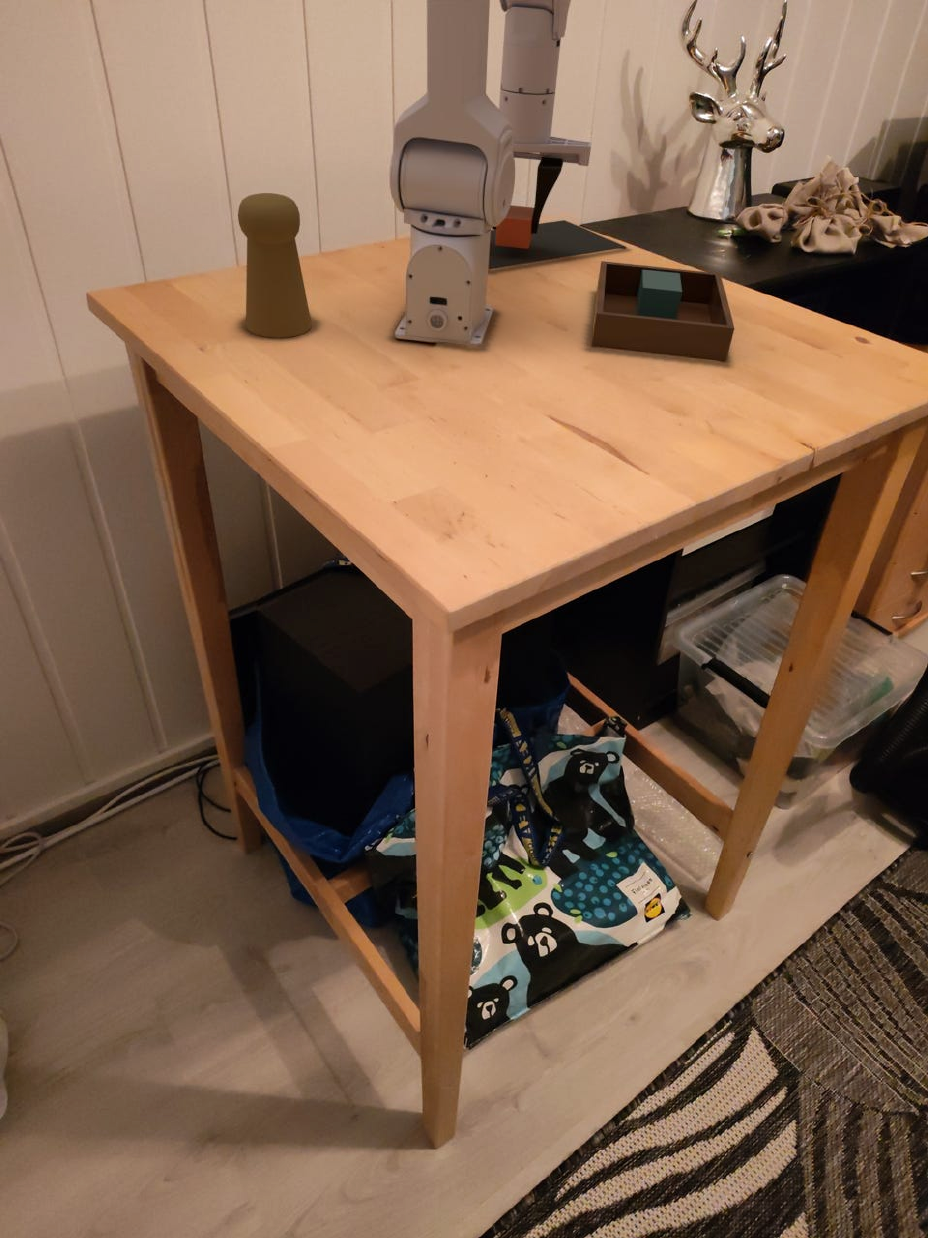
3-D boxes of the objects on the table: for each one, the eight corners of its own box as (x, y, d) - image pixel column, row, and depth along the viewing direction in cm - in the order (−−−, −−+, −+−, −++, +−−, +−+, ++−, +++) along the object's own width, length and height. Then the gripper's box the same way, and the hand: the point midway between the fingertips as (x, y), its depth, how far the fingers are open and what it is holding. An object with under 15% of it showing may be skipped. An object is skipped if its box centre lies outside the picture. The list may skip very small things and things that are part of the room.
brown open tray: (724, 365, 76) (734, 328, 73) (590, 349, 77) (596, 313, 74) (712, 306, 87) (720, 273, 85) (596, 293, 88) (601, 260, 86)
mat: (625, 250, 100) (626, 246, 100) (490, 272, 92) (490, 268, 91) (564, 223, 108) (564, 219, 108) (433, 241, 99) (433, 237, 99)
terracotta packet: (528, 248, 93) (531, 220, 92) (494, 245, 94) (497, 216, 92) (532, 234, 98) (535, 207, 96) (500, 231, 98) (502, 204, 96)
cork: (306, 339, 75) (297, 207, 68) (238, 335, 75) (222, 202, 68) (316, 314, 80) (309, 188, 72) (253, 310, 79) (239, 184, 72)
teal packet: (675, 322, 82) (682, 291, 80) (636, 317, 82) (642, 287, 80) (673, 302, 86) (679, 273, 84) (636, 298, 87) (642, 269, 85)
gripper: (598, 89, 88) (580, 225, 97) (464, 78, 90) (458, 213, 99) (596, 100, 83) (577, 243, 92) (453, 87, 84) (448, 230, 93)
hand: (515, 229), depth 95 cm, fingers closed on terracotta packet, 4 cm apart
